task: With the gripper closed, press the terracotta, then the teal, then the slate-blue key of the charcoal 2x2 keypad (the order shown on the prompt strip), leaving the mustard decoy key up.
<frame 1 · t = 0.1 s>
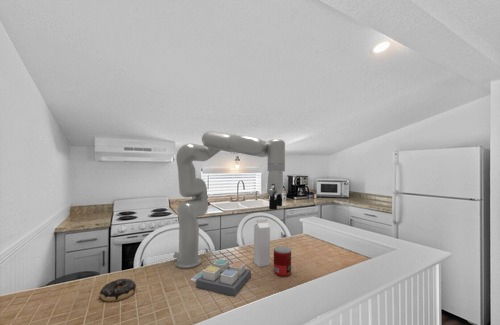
hand: (275, 207, 98), 31 cm above the worktop, fingers open, 9 cm apart
key mustard: (211, 273, 93), point 5 cm above the worktop, slide at 0.0 cm
canned food: (282, 273, 104), on the worktop
prompt strip: (201, 276, 100), on the worktop
key teal: (221, 265, 101), point 5 cm above the worktop, slide at 0.0 cm
keypad: (224, 281, 95), on the worktop
donut: (118, 295, 85), on the worktop
key terracotta: (237, 268, 98), point 5 cm above the worktop, slide at 0.0 cm
key slate: (229, 276, 90), point 5 cm above the worktop, slide at 0.0 cm
milk: (261, 264, 114), on the worktop
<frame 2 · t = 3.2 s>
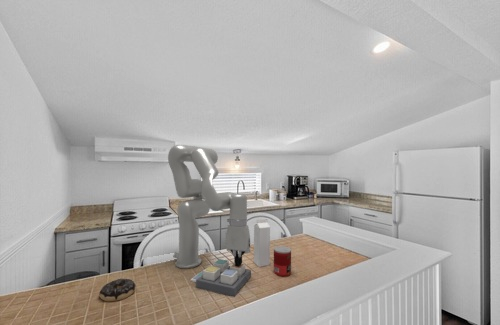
hand: (238, 265, 97), 6 cm above the worktop, fingers closed
key terracotta: (237, 269, 98), point 4 cm above the worktop, slide at 0.3 cm, touching gripper
everything else where it was.
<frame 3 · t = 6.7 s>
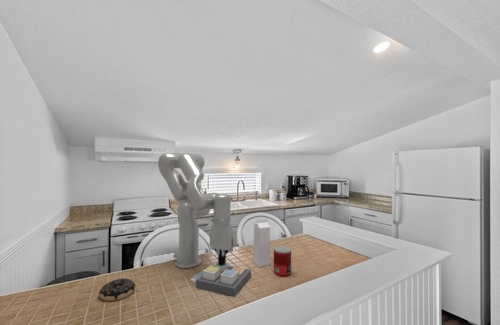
hand: (221, 263, 100), 5 cm above the worktop, fingers closed
key teal: (221, 267, 101), point 4 cm above the worktop, slide at 1.0 cm, touching gripper
key terracotta: (237, 273, 98), point 2 cm above the worktop, slide at 2.2 cm
everything else where it was.
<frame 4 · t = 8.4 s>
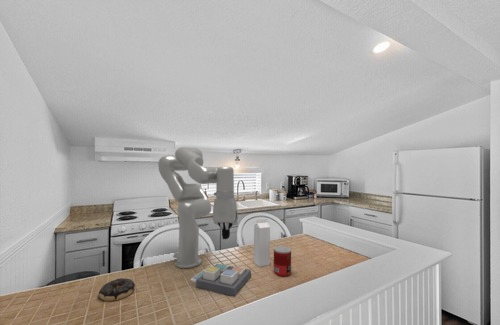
hand: (225, 238, 97), 18 cm above the worktop, fingers closed
key teal: (221, 270, 100), point 2 cm above the worktop, slide at 2.2 cm
everything else where it was.
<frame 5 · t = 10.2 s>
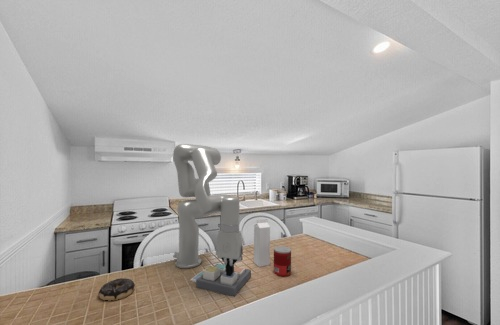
hand: (229, 274, 90), 6 cm above the worktop, fingers closed
key slate: (229, 278, 90), point 4 cm above the worktop, slide at 0.8 cm, touching gripper
everything else where it was.
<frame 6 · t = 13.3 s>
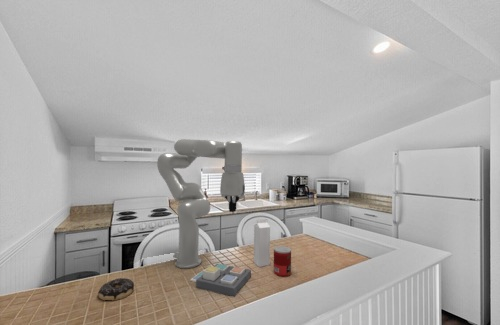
hand: (232, 211, 99), 29 cm above the worktop, fingers closed
key slate: (229, 282, 90), point 2 cm above the worktop, slide at 2.2 cm
everything else where it was.
at the end: key terracotta slide at 2.2 cm; key slate slide at 2.2 cm; key mustard slide at 0.0 cm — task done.
